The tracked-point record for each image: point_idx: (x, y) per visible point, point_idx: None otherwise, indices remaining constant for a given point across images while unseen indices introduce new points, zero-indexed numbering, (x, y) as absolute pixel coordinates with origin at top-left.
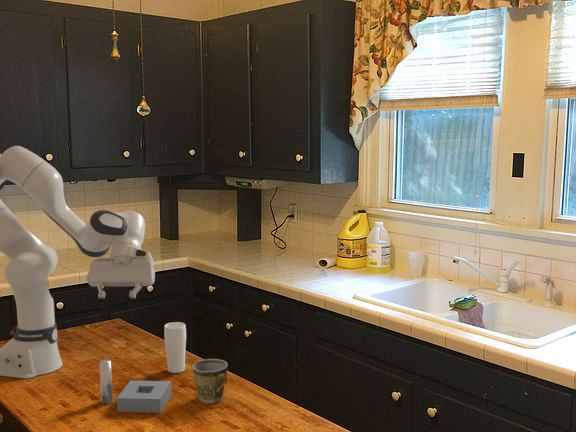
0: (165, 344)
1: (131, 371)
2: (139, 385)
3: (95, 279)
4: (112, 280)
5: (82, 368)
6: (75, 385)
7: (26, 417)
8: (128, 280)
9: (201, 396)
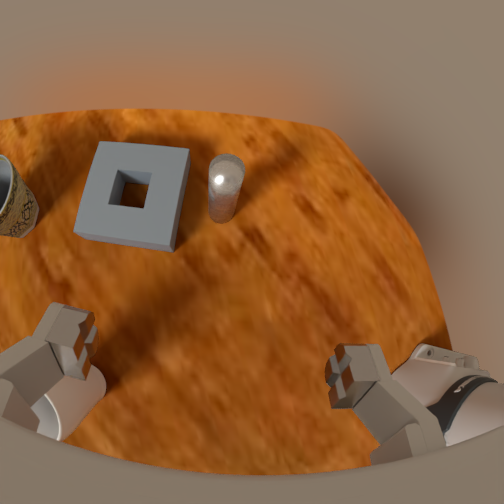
0: (81, 393)
1: (199, 393)
2: (143, 212)
3: (478, 448)
4: (301, 478)
5: (327, 411)
6: (318, 310)
7: (356, 165)
8: (58, 443)
9: (31, 194)
